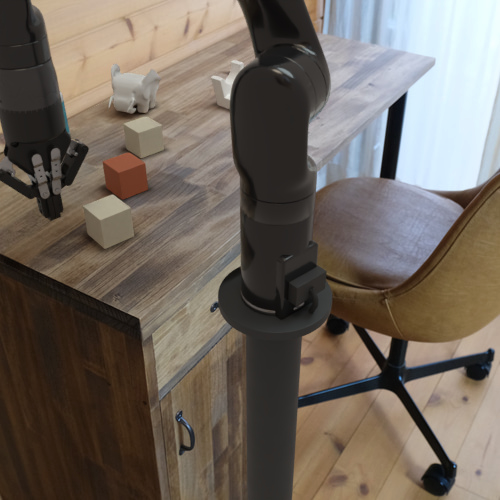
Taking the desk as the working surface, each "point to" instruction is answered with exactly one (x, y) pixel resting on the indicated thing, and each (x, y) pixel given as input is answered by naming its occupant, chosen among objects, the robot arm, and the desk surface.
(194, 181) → the desk surface
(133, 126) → the far block
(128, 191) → the block
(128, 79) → the elephant figurine
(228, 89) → the bracket
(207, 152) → the desk surface
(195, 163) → the desk surface
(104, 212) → the near block
